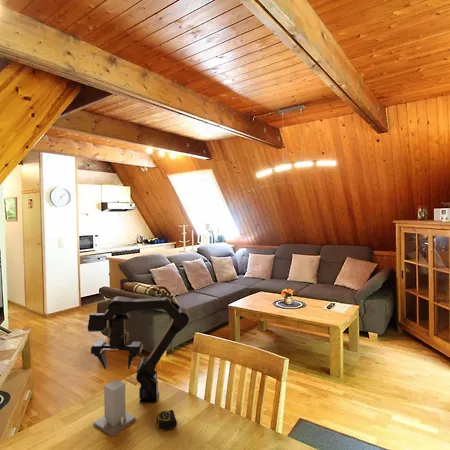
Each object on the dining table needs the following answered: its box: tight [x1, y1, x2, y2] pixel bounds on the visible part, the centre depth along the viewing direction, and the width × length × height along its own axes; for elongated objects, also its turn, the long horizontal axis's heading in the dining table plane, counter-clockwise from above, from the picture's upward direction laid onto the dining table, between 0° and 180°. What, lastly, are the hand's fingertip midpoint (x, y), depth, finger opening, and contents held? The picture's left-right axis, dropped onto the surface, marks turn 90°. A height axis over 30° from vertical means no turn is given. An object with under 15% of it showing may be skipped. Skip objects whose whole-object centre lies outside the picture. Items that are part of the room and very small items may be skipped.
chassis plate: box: [93, 411, 136, 437], centre depth 114 cm, size 10×10×4 cm
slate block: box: [103, 379, 126, 426], centre depth 114 cm, size 5×5×13 cm
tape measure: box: [155, 409, 178, 431], centre depth 113 cm, size 7×7×4 cm
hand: (117, 368), depth 126 cm, fingers open, 9 cm apart
